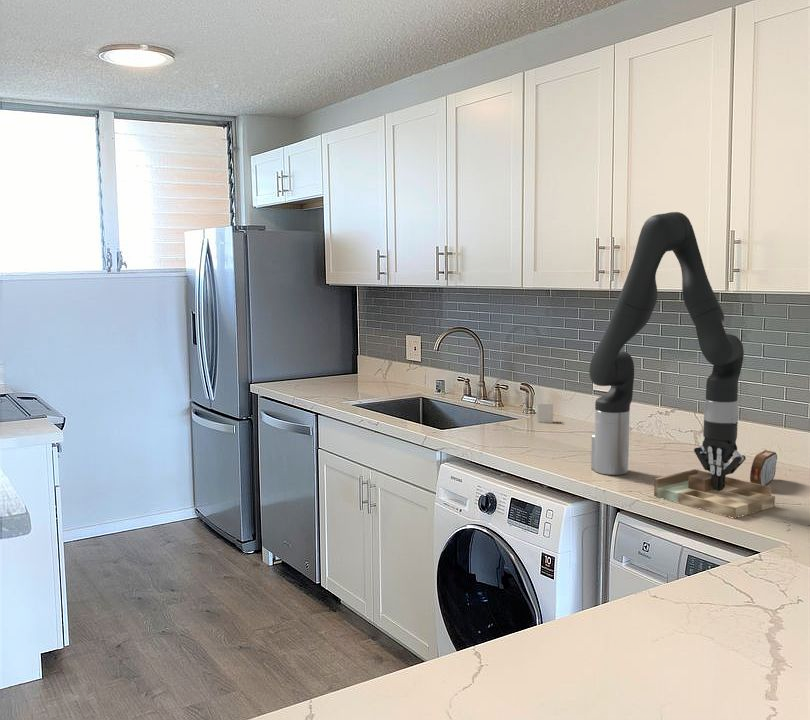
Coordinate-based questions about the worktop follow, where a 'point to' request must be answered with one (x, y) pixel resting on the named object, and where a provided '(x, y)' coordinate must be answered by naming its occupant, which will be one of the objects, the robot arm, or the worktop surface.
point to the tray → (716, 494)
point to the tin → (763, 468)
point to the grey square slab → (545, 413)
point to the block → (700, 482)
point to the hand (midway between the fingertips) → (717, 489)
